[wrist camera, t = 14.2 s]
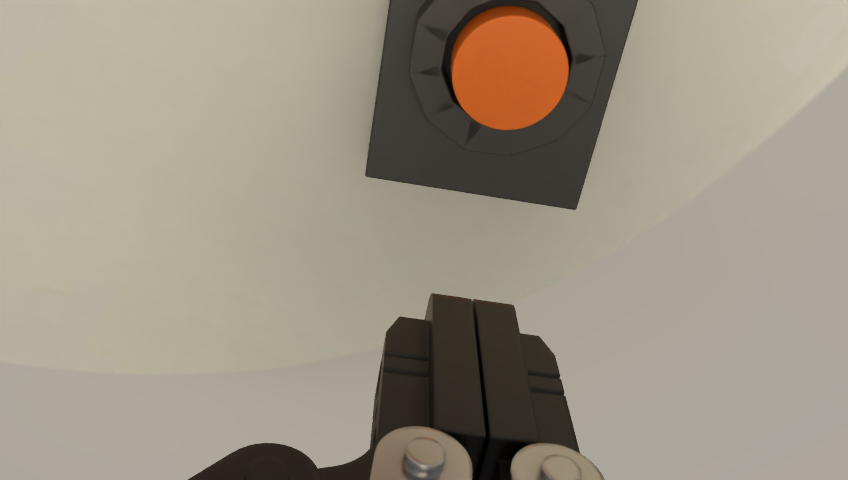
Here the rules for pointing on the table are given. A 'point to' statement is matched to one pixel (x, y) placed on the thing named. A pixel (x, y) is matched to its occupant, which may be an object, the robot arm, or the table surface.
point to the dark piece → (470, 140)
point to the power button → (508, 68)
